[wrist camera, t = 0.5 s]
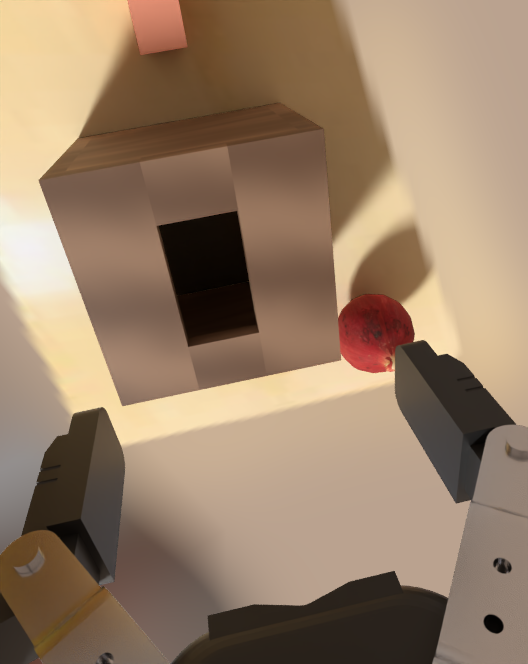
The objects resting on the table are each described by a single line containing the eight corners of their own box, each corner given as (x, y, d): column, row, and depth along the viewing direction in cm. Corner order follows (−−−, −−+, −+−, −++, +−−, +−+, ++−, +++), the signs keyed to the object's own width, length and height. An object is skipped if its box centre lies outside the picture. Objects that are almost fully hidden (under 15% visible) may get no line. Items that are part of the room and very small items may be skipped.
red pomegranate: (314, 295, 40) (344, 348, 33) (382, 266, 40) (426, 314, 33) (336, 351, 43) (367, 410, 36) (399, 324, 43) (442, 378, 36)
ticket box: (78, 138, 32) (38, 180, 22) (282, 102, 33) (327, 128, 23) (134, 316, 38) (122, 406, 29) (303, 282, 39) (344, 359, 30)
